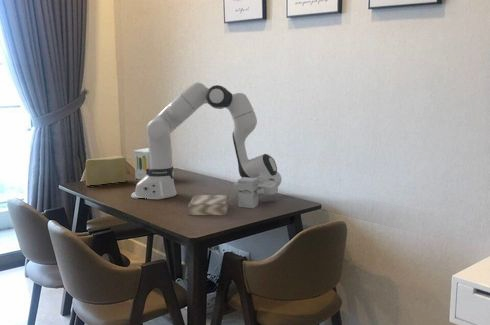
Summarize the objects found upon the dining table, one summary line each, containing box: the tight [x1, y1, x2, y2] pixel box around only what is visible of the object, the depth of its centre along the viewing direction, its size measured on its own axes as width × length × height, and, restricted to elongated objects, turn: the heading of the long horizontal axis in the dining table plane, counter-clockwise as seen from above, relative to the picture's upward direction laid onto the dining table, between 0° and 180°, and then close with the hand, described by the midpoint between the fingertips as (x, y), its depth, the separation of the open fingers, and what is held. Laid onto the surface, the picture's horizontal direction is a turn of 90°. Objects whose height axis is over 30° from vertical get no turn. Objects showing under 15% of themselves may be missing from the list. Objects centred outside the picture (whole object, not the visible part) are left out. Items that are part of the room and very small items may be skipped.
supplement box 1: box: [133, 147, 150, 179], centre depth 293 cm, size 13×13×18 cm
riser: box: [187, 194, 230, 216], centre depth 224 cm, size 16×16×5 cm
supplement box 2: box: [237, 177, 259, 209], centre depth 230 cm, size 7×7×13 cm
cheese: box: [84, 155, 128, 186], centre depth 283 cm, size 22×10×15 cm, turn 127°
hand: (247, 191), depth 229 cm, fingers open, 8 cm apart
